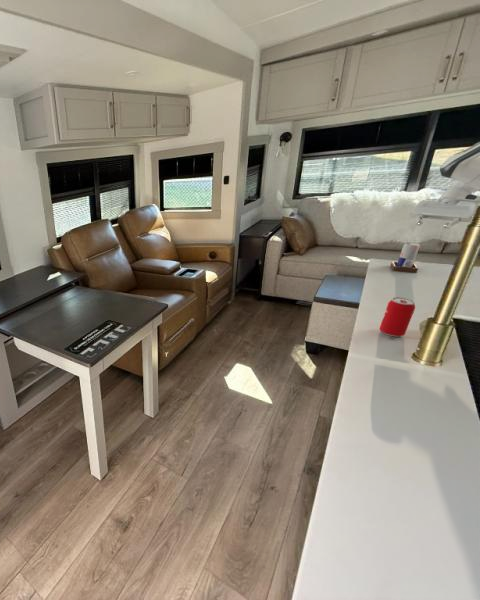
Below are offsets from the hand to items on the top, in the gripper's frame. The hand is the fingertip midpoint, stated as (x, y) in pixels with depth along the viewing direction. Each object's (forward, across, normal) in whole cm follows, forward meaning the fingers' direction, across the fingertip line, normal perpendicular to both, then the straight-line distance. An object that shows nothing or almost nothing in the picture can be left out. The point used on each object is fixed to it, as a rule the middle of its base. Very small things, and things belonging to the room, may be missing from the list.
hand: (431, 226), depth 138 cm
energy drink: (+13, -6, +18) cm, 23 cm away
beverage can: (+63, +25, -30) cm, 74 cm away
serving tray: (+13, -6, +18) cm, 23 cm away
